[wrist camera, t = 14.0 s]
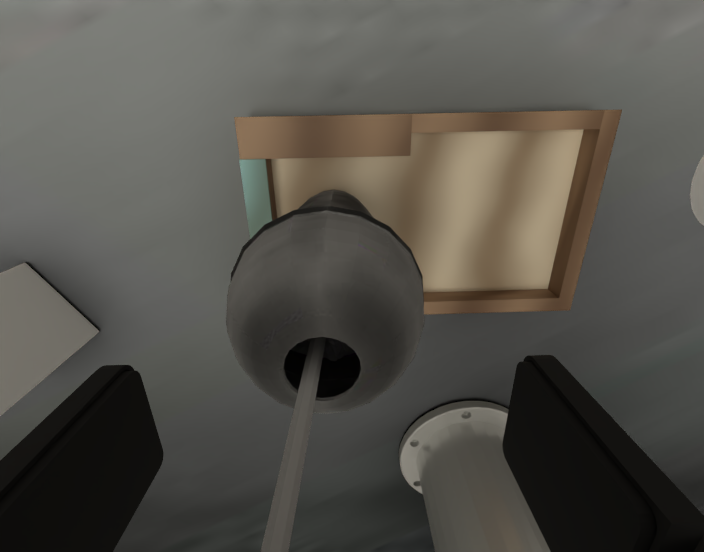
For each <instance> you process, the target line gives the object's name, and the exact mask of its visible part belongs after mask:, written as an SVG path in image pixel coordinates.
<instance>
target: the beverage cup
mask: <svg viewBox="0 0 704 552" xmlns="http://www.w3.org/2000/svg"><path fill="white" fill-rule="evenodd" d="M226 325H227V332H228V335H229V338H230V341H231V344H232V347H233V350H234V353H235V356H236V359H237V361H238V362H239V364H240V366H241V367H242V368H243V370H244V371H245V372H246V374H247V375H248V376H249V378H250V379H251V380H252V382H253V383H254V384H255V385H256V386H257V387H258V388H259V389H261V390H262V391H263V392H265V393H266V394H268V395H269V396H270V397H272V398H273V399H274V400H276V401H277V402H279V403H281V404H284V405H286V406H289V407H292V408H294V412H293V416H292V420H291V424H290V429H289V433H288V437H287V442H286V446H285V450H284V454H283V459H282V463H281V467H280V472H279V476H278V480H277V484H276V489H275V493H274V497H273V502H272V506H271V510H270V514H269V519H268V523H267V527H266V532H265V536H264V540H263V544H262V549H261V552H288V550H289V544H290V539H291V533H292V528H293V522H294V516H295V511H296V505H297V499H298V494H299V488H300V483H301V477H302V471H303V466H304V460H305V454H306V449H307V443H308V438H309V432H310V426H311V421H312V415H313V412H314V413H322V414H327V413H335V412H344V411H349V410H352V409H354V408H357V407H360V406H362V405H365V404H367V403H370V402H371V401H373V400H374V399H376V398H377V397H379V396H380V395H381V394H383V393H384V392H385V391H387V390H388V389H389V388H391V387H392V386H393V385H395V383H396V382H397V381H398V379H399V378H400V376H401V375H402V374H403V372H404V371H405V370H406V368H407V367H408V365H409V364H410V363H411V361H412V360H413V358H414V356H415V353H416V350H417V346H418V343H419V340H420V337H421V333H422V330H423V327H424V294H423V277H422V273H421V271H420V269H419V266H418V264H417V262H416V260H415V257H414V255H413V253H412V250H411V249H410V248H409V246H408V245H407V244H406V243H405V242H404V241H403V240H402V239H401V238H400V237H399V236H398V235H397V234H396V233H395V232H394V231H393V229H392V228H391V227H390V226H388V225H386V224H384V223H382V222H380V221H378V220H377V219H375V218H373V216H372V215H371V214H370V212H369V211H368V210H367V209H366V207H365V206H364V205H363V204H362V203H361V202H360V201H359V200H358V199H357V198H355V196H353V195H351V194H349V193H347V192H345V191H340V190H335V189H334V190H327V191H322V192H320V193H318V194H316V195H314V196H313V197H311V198H309V199H308V200H307V201H306V202H305V203H304V204H303V205H302V206H300V207H299V208H298V209H297V210H293V211H291V212H289V213H287V214H285V215H283V216H281V217H279V218H277V219H275V220H273V221H271V222H269V223H267V224H265V225H264V226H263V227H262V228H261V229H260V230H259V231H258V232H257V233H256V234H255V235H254V236H253V237H252V238H251V239H250V240H249V241H248V242H247V243H246V244H245V245H244V246H243V248H242V250H241V253H240V255H239V257H238V259H237V262H236V264H235V266H234V269H233V271H232V273H231V283H230V285H229V289H228V295H227V316H226Z"/></svg>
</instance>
